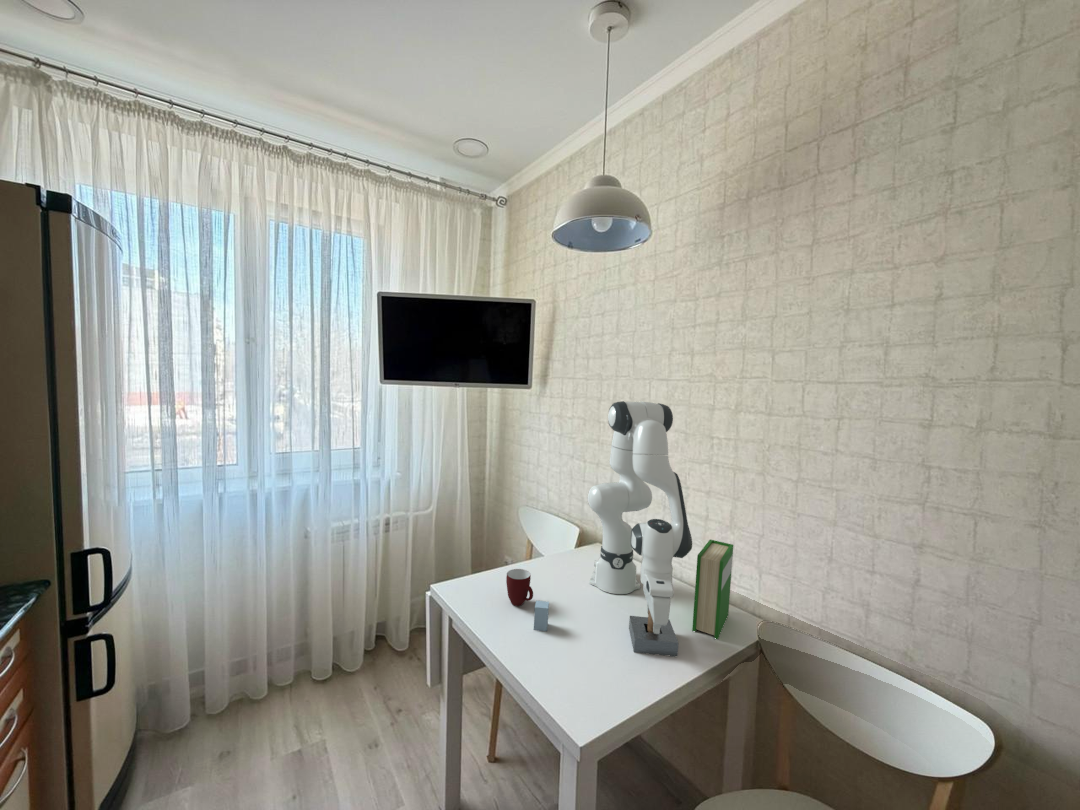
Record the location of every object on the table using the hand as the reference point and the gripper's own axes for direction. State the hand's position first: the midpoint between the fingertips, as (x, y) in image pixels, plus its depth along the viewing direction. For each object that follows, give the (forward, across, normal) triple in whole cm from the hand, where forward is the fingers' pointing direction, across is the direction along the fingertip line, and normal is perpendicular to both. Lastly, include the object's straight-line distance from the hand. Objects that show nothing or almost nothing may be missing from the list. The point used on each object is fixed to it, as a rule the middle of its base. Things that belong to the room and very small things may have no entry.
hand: (653, 623), depth 126 cm
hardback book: (+6, -14, +21) cm, 26 cm away
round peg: (+6, 0, 0) cm, 6 cm away
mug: (+6, -14, -41) cm, 44 cm away
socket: (+6, 0, 0) cm, 6 cm away
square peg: (+6, -2, -33) cm, 34 cm away
